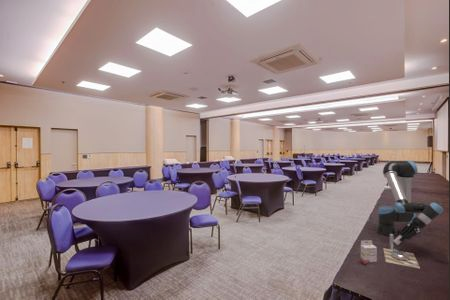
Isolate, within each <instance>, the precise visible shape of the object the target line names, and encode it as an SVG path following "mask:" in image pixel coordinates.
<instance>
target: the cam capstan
mask: <svg viewBox="0 0 450 300" xmlns="http://www.w3.org/2000/svg"><path fill="white" fill-rule="evenodd" d="M394 240H395V236H394V234H390V236H389V249H391V250H393V251H392V252H391V255H392V257H394V258H396V259H399V260H412V259H410V258H409V255H408V254H407V253H405V252H406V251H403V250H398V249H396V248H395V242H394Z"/></svg>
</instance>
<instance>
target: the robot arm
mask: <svg viewBox="0 0 450 300" xmlns="http://www.w3.org/2000/svg"><path fill="white" fill-rule="evenodd" d="M382 173H383V177H384V178H385V179H386V181H387V183H388V185H389V186H388V187H389V188H390V191H391V192H392V196H393V198H394V201H395V202H394V204H393V206H391V205H383V206H380V207H378V210H377V211H378V212H377V213H378V215H377V216H378V223H377V226H376V231H375V232H376V233H378V234H380V235H382V236H388V237H390V234H394V237H396V238H394V244H396V245H397V246H399V245H400V243H402V242H403V241H404V240H410V239H412V238H413V237H415V236H416V235H418V234H420V233H421V231H420V230H421V229H424V228H425V227H426V226H427V225H429V224H430V223H431V222H432V221H433V220H435V219H436V218H438V217H439V216H440V215H441V213H442V212H444V208H443V207H442V206H441V205H440V204H437V203H436V202H431V203H430V204H428V203H425V202H412V180H413V178H415V175H417V173H418V166H417V164H416V162H414V161H412V160H397V161H396V160H392V161H389V162H387V163H385V165H384V166H383V169H382ZM395 223H406V224H405V225H404V226H403V228H402V229H400V231H399V232H398V231H397V228H396V226H395ZM398 233H399V235H398Z"/></svg>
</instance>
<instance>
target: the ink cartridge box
mask: <svg viewBox="0 0 450 300" xmlns="http://www.w3.org/2000/svg"><path fill="white" fill-rule="evenodd" d="M377 250H378V247H377V246H376V245H374V244H373V239H370V240H360V261H361V263H362V264H364V265H368V263H376V262H378V258H377V257H378V256H377V255H378V251H377Z"/></svg>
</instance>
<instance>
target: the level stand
mask: <svg viewBox="0 0 450 300" xmlns="http://www.w3.org/2000/svg"><path fill="white" fill-rule="evenodd" d="M392 251H393V250H391V249H390V248H384V247H383V254H384V259H385V263H389V264H393V265H394V264H395V265H399V266H404V267H411V268H416V269H421V268H420V265H419V263H418V260H417V258H416V256H415V253H412V252H407V251H404V252H405V253H407V254H408V255H409V258H410V259H412V260H399V259H396V258H394V257H392V255H391V252H392Z"/></svg>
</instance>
